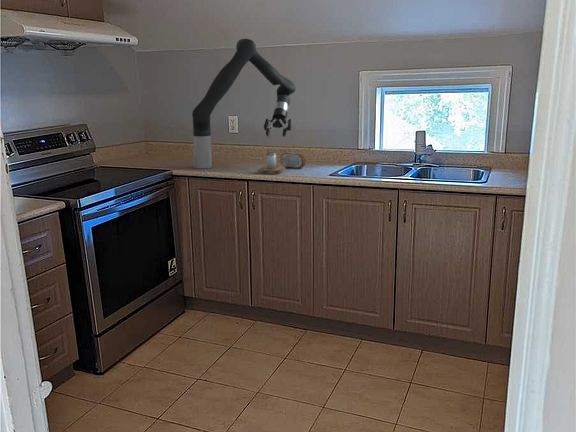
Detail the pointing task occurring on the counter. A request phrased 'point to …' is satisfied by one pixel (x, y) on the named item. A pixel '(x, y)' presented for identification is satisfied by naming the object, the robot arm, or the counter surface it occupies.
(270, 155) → the jar
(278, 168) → the walnut board
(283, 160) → the tin
